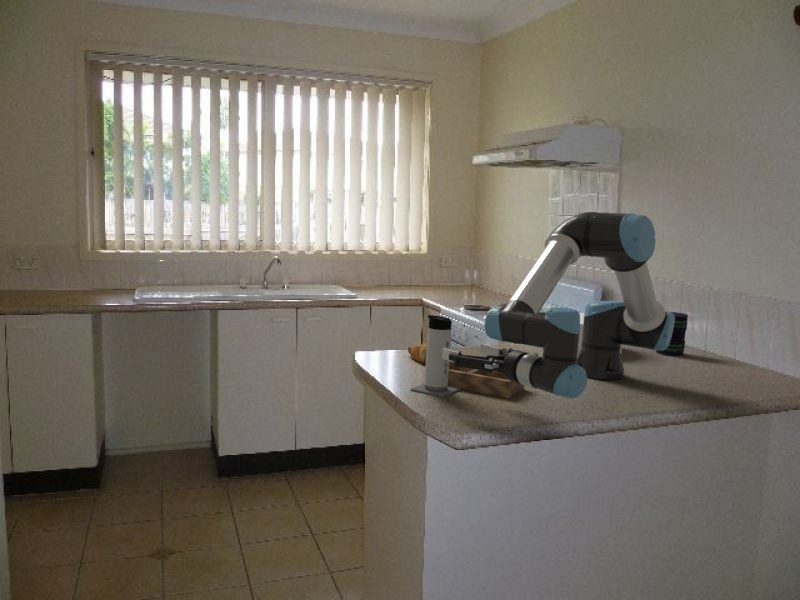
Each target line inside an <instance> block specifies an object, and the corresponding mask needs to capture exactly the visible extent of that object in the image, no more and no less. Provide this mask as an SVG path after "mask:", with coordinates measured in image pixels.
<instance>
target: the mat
mask: <svg viewBox="0 0 800 600" xmlns="http://www.w3.org/2000/svg"><path fill="white" fill-rule="evenodd" d="M424 386H425V382H424V383H421V384H420V385H416V386H414V387H412V388H410V391H411V392H416V393H421V394H425V395H430V396H435V397H440V398H446V397H448V396H451V395H453V394H454V393H457V392H459V391H461V390H462V389H461V388H458V387H453V386H448V388H447V390H445V391H430V390H427V389H425V387H424Z"/></svg>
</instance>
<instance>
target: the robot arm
mask: <svg viewBox="0 0 800 600" xmlns="http://www.w3.org/2000/svg"><path fill="white" fill-rule="evenodd" d="M655 236H656V230H655V226H654V223H653V222H652V220H651V219H650V218H649V217H648V216H646V215H643V214H636V213H631V212H630V213H629V212H628V213H622V212H621V213H619V212H618V213H617V212H598V211H597V212H595V211H587V212H581V213H578V214H576V215H573V216H571V217H569V218H567V219H566V220H564V221H563V222H561V223H560V224H558V226H556V227H555V228H554V229H553V230H552V231H551V232H550V234H549V235H548V236H547V238H546V240H545V241H544V249H543V251H542V252H541V254H540V255H539V257H538V258H537V259H536V261H535V262H534V264H533V265H532V267H531V268H530V269H529V271H528V272H527V274H526V275H525V277H524V278H523V280H522V281H521V282H520V284H519V286H517V288H516V290H514V293H513V294H512V295H511V297H510V298H509V300H508V301H507V303H506V304H505V306H504V307H500V306H499V307H492V308H490V309H489V310H488V312H487V313H486V316H485V318H484V331H485V334H486V336H487V337H489V338H490V339H492V340H497V341H501V342H503V343H504V342H506V343H512V344H519V345H525V346H530V347H535V348H542V356H540V355H539V353H538V352H534V353H529V352H527V351H522V350H519V349H517V350H515V349H514V348H511V347H510V348H508V349H506V348H505V347H504V348H501V347H497V346H493V345H489V344H485V343H480V351H479V354H480V355H473V354H463V352H462V351H461V350H460V351H456V350H453V349H451V348H450V349H446V348H443V351H442V359H444V360H448V361H451V362H454V366H456V367H464V368H471V369H477V370H483V371H487V372H493V370H496V371H498V372H503V373H504V375H505V377H506V378H507V379H508V380H510V381H513V382H516V383H520V384H522V385H525V386H526V387H529V388H533V389H536V390H537V389H538V390H541V391H544V392H547V393H549V394H553V395H554V396H557V397H564V398H567V399H575V398H579V397H580V396H581V395H582V394H583V392H584V391H585V389H586V387H587V384H588V378H590V379H594V380H596V379H597V380H604V379H605V380H606V381H611V380H621V379H623V378H624V375H625V368H624V364H623V360H622V359H623V358H622V355H621V354H622V353H621V354H620V346H621V344H622V346H628V347H636V348H642V349H647V350H652V351H656V350H661V351H663V350H665V349H667V347H668V346H669V343H670V340H671V337H672V333H673V328H674V322H675V315H674V314H673V313H671V312H672V311H666V310H665V307H664V305H663V304H662V303H661V302H659V300H657V297H656V293H655V289H654V286H653V281H652V278H651V274H650V269H649V266H648V261H649V260H650V259H651V258H652V257H653V254H654V251H655V247H656V237H655ZM582 257H592V258H603V259H604V262H605V264H606V266H607V267H608V268H609V269H610V270H611V271H613V272H614V275H615V278H616V280H617V284H618V287H619V290H620V294H621V297H622V299H623V300H597V301H591V302H588V303H586V305H585V308H584V309H585V310H584V313H585V314H584V323H583V336H582V347H581V350H580V352H579V355H577V353H578V343H579V334H580V314H579V313H580V312H579V311H578V310H576V309H573V308H570V307H569V308H568V307H557V306H555V307H549V308H547V309H546V312H545V314H543V313H540V312H541V311H542V310H541V309H543V308H544V307H543V306H545V304H546V302H547V301H548V299H549V297H550V296H551V294H553V291H554V290H555V288H556V287H557V285H558V283H559V282H560V281H561V280H562V277H563V276H564V275H565V273H566V271H567V270H568V268H569V266H570V265H572V264H573V265H574V264H575V263H576V262H577V261H578V260H579V258H582ZM490 359H491V360H490Z"/></svg>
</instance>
